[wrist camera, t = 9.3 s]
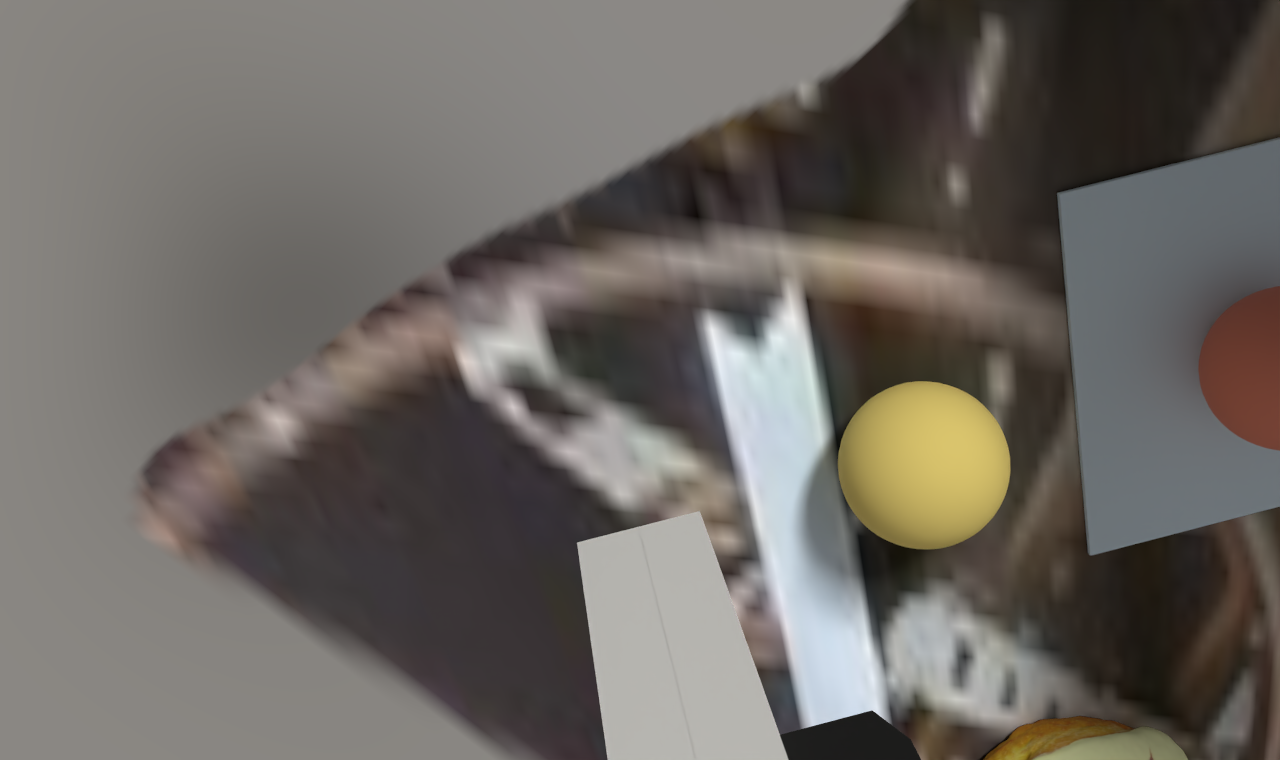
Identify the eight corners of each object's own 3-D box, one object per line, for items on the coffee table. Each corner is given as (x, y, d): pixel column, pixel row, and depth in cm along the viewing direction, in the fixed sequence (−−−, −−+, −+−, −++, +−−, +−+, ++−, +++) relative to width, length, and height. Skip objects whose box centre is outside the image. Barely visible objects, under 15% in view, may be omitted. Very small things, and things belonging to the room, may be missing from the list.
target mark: (1460, 92, 39) (1465, 92, 39) (1444, 460, 45) (1447, 463, 44) (1056, 193, 39) (1059, 194, 39) (1088, 553, 44) (1090, 555, 44)
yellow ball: (812, 433, 36) (841, 359, 41) (837, 582, 39) (862, 496, 43) (998, 425, 34) (1006, 348, 39) (1014, 583, 37) (1020, 493, 41)
